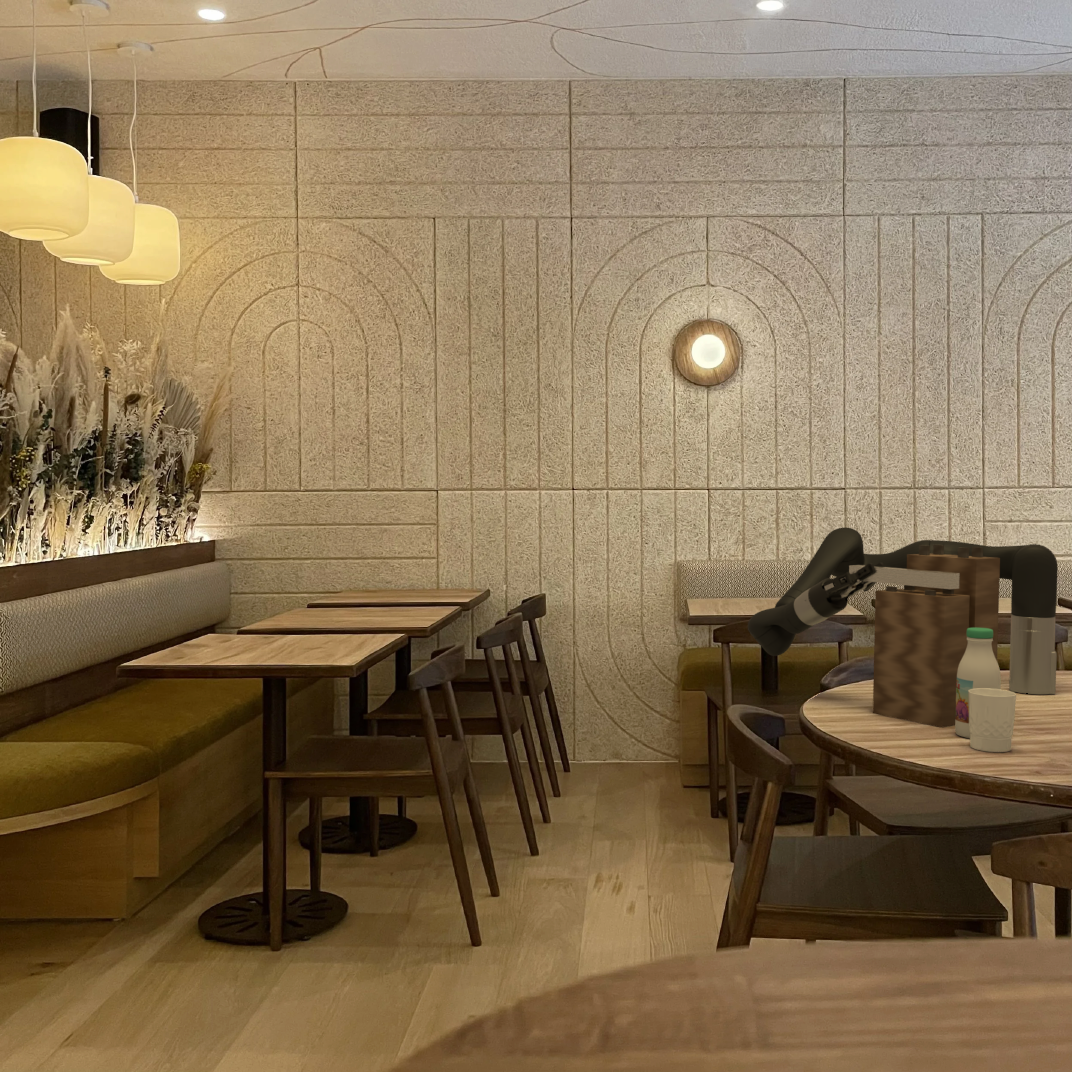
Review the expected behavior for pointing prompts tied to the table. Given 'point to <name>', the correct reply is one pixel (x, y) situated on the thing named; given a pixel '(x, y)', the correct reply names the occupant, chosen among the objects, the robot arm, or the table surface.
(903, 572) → the block
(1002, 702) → the white cup
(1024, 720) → the table surface
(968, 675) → the milk bottle
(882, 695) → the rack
